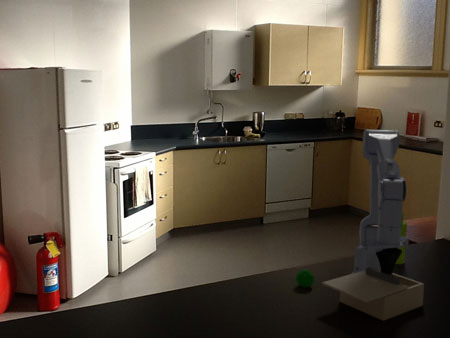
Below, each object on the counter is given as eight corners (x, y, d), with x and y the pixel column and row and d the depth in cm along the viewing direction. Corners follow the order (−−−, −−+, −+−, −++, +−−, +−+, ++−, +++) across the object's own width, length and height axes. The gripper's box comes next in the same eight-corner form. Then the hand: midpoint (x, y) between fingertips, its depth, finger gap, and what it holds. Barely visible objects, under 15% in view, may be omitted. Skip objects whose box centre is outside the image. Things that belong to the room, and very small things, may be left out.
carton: (339, 301, 141) (340, 279, 140) (378, 289, 150) (379, 268, 149) (383, 320, 130) (384, 297, 129) (422, 305, 139) (424, 283, 138)
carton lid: (322, 284, 136) (322, 276, 136) (363, 272, 145) (364, 264, 145) (366, 302, 125) (366, 293, 124) (407, 288, 134) (408, 280, 134)
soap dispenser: (404, 258, 177) (408, 199, 174) (404, 265, 171) (408, 204, 168) (386, 256, 179) (389, 198, 176) (385, 262, 173) (388, 202, 170)
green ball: (316, 289, 149) (316, 273, 148) (299, 290, 148) (299, 273, 148) (310, 283, 154) (311, 267, 153) (294, 283, 153) (294, 268, 153)
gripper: (384, 232, 130) (381, 285, 132) (419, 224, 139) (416, 274, 141) (361, 226, 136) (358, 277, 138) (396, 218, 144) (393, 267, 146)
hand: (386, 275), depth 140 cm, fingers closed
